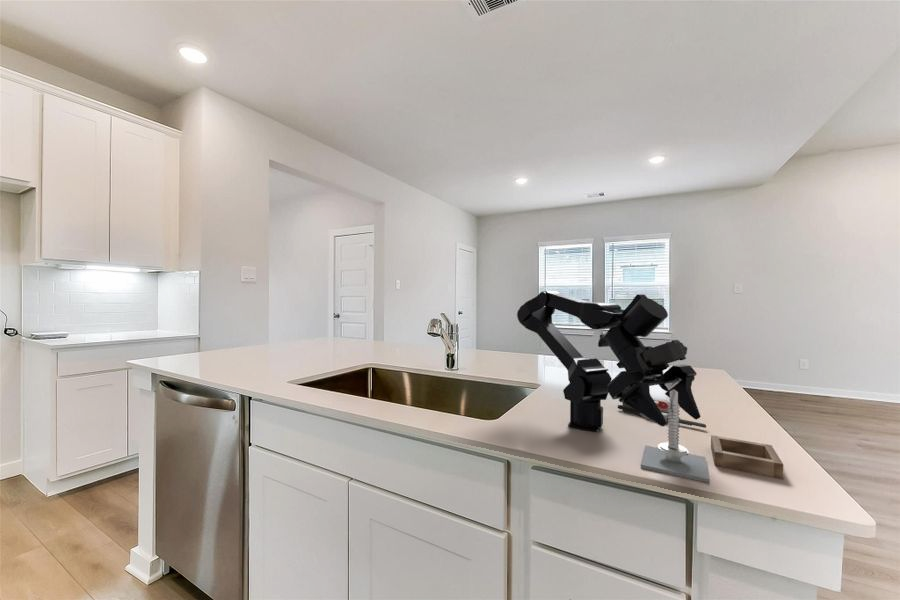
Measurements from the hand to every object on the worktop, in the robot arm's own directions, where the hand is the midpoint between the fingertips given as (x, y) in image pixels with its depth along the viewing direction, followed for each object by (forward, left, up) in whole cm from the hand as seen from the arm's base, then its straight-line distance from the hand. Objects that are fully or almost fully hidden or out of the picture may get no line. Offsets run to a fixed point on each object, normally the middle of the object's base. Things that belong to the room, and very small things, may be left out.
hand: (682, 421), depth 67 cm
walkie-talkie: (-4, +30, -9) cm, 31 cm away
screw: (-1, +1, -8) cm, 8 cm away
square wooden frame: (+10, +9, -8) cm, 16 cm away
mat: (-1, +1, -8) cm, 8 cm away
